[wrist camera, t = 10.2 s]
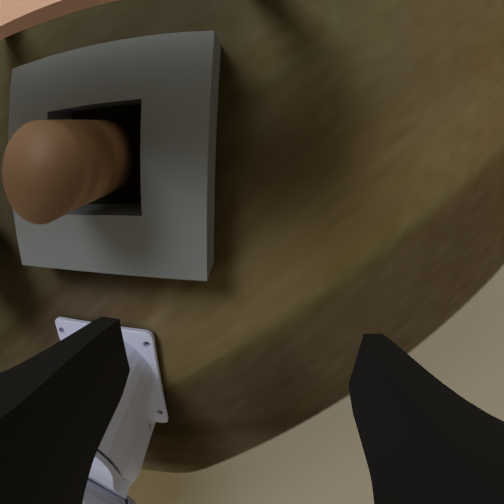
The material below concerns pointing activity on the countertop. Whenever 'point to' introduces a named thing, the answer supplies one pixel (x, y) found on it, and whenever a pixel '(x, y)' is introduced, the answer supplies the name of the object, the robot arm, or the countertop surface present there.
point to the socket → (151, 154)
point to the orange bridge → (37, 12)
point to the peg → (67, 165)
